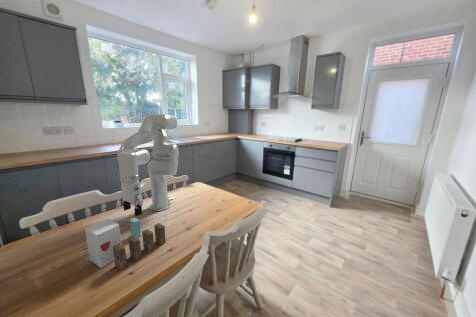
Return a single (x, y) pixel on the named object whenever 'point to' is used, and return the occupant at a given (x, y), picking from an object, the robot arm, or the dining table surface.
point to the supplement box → (102, 241)
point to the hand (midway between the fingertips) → (132, 212)
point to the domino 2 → (135, 227)
